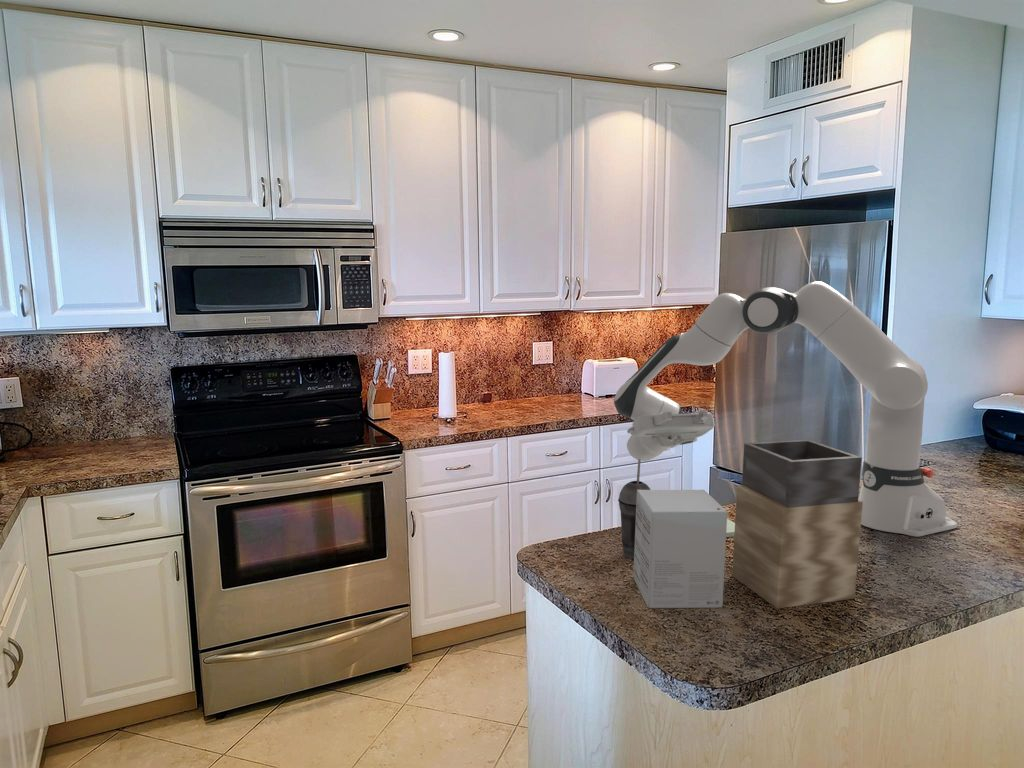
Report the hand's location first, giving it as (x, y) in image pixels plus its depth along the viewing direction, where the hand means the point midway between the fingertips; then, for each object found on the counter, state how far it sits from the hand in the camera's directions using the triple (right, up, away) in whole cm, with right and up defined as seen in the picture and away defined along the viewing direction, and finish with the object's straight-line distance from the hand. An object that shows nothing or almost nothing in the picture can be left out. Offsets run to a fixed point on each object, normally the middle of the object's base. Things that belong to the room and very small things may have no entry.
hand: (687, 414), depth 167 cm
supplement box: (-12, -31, -38) cm, 51 cm away
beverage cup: (-16, -28, -21) cm, 39 cm away
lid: (0, -25, +1) cm, 25 cm away
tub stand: (+10, -31, -36) cm, 48 cm away
